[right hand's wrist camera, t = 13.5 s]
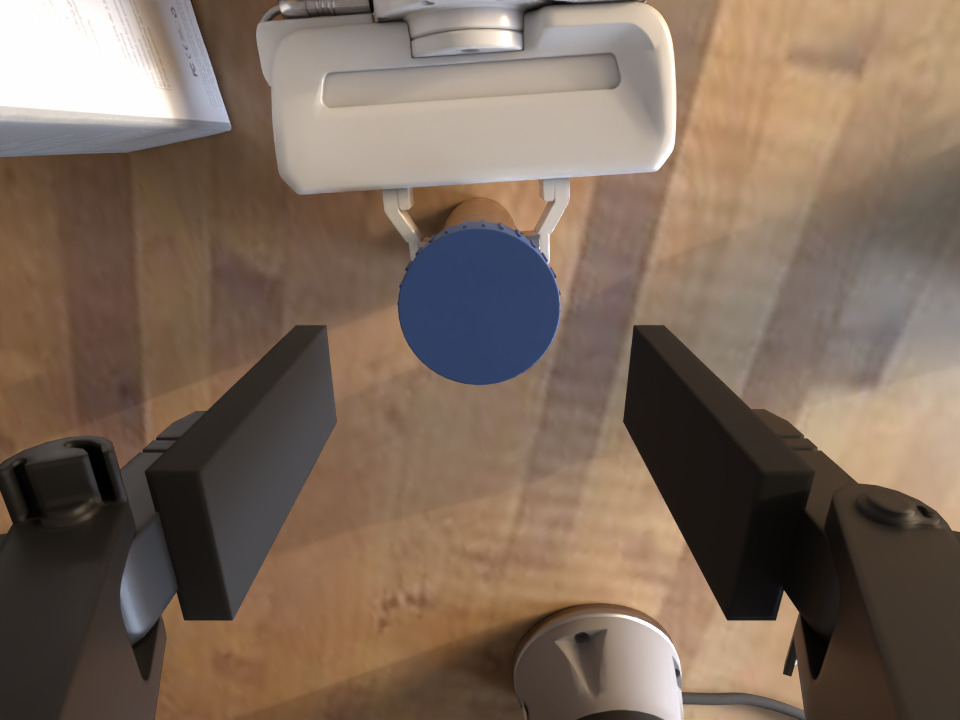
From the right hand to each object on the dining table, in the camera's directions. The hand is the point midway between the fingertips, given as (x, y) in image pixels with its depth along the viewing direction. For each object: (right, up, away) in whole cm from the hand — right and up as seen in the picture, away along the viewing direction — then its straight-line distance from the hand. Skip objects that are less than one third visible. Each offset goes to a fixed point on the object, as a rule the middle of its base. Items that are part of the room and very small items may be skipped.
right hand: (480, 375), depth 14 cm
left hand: (0, +6, +17) cm, 18 cm away
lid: (0, +2, +6) cm, 6 cm away
